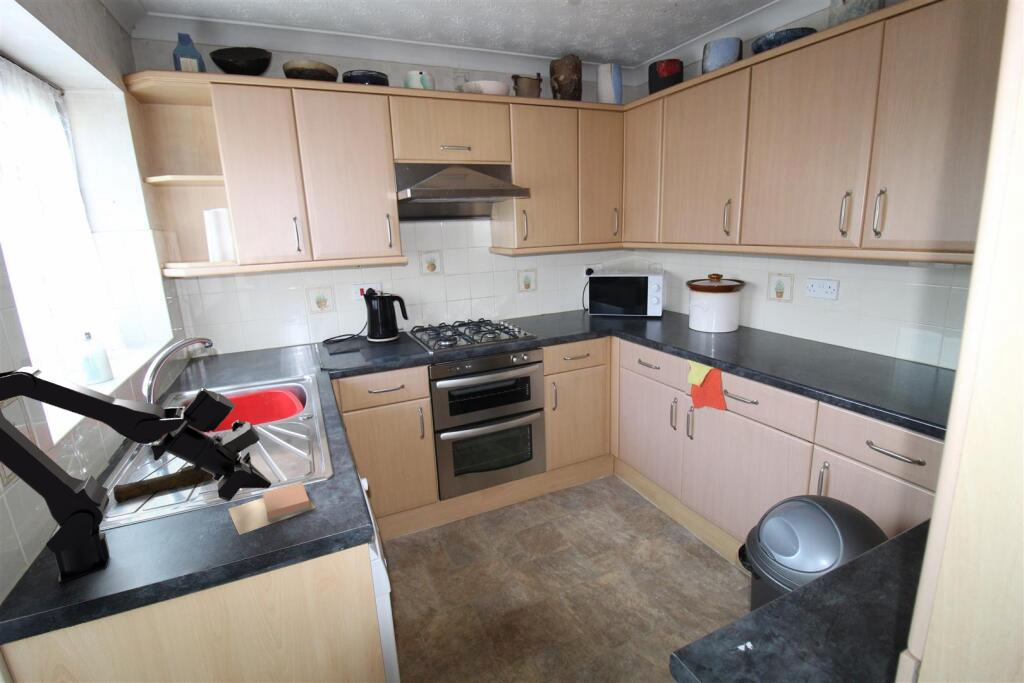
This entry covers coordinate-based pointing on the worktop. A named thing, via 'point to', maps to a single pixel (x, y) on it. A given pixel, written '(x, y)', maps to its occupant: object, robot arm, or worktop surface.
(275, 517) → the terracotta tile
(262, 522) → the beech board
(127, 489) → the brown wooden rod
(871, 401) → the worktop surface
